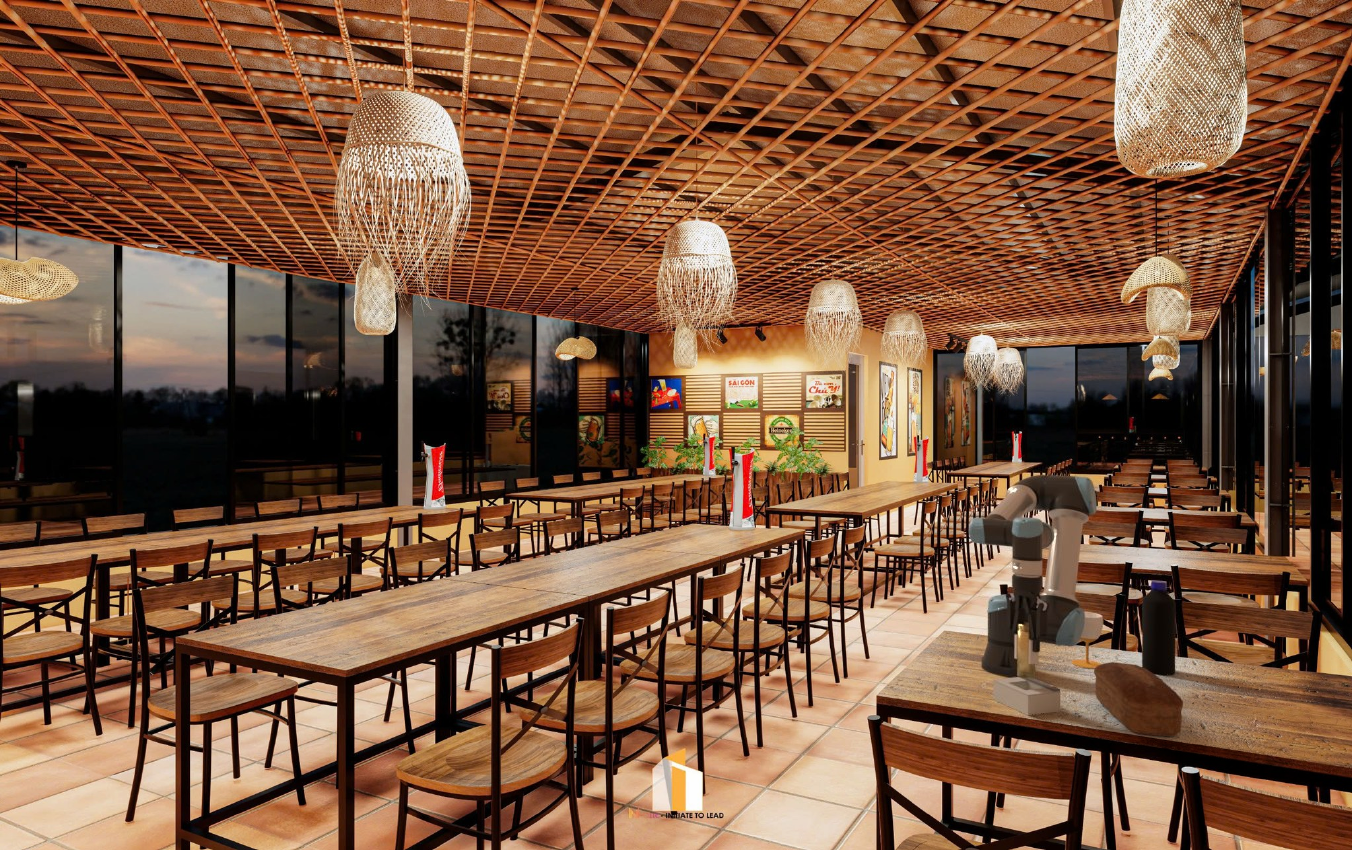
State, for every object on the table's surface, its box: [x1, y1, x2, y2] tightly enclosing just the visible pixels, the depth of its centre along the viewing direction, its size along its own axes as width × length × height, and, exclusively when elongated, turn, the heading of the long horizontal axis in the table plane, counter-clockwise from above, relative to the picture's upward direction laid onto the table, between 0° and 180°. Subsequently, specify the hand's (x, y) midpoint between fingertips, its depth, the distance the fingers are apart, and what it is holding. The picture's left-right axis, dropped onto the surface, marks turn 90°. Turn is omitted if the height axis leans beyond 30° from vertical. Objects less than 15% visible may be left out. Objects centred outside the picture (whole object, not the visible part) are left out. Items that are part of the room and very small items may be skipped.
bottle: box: [1141, 580, 1177, 676], centre depth 242 cm, size 9×9×28 cm
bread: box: [1093, 661, 1184, 737], centre depth 202 cm, size 14×28×12 cm, turn 170°
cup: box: [1070, 611, 1104, 670], centre depth 248 cm, size 9×9×16 cm
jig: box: [992, 677, 1061, 716], centre depth 210 cm, size 11×13×6 cm
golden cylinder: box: [1017, 623, 1036, 679], centre depth 210 cm, size 4×4×14 cm
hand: (1026, 660), depth 210 cm, fingers closed on golden cylinder, 4 cm apart
